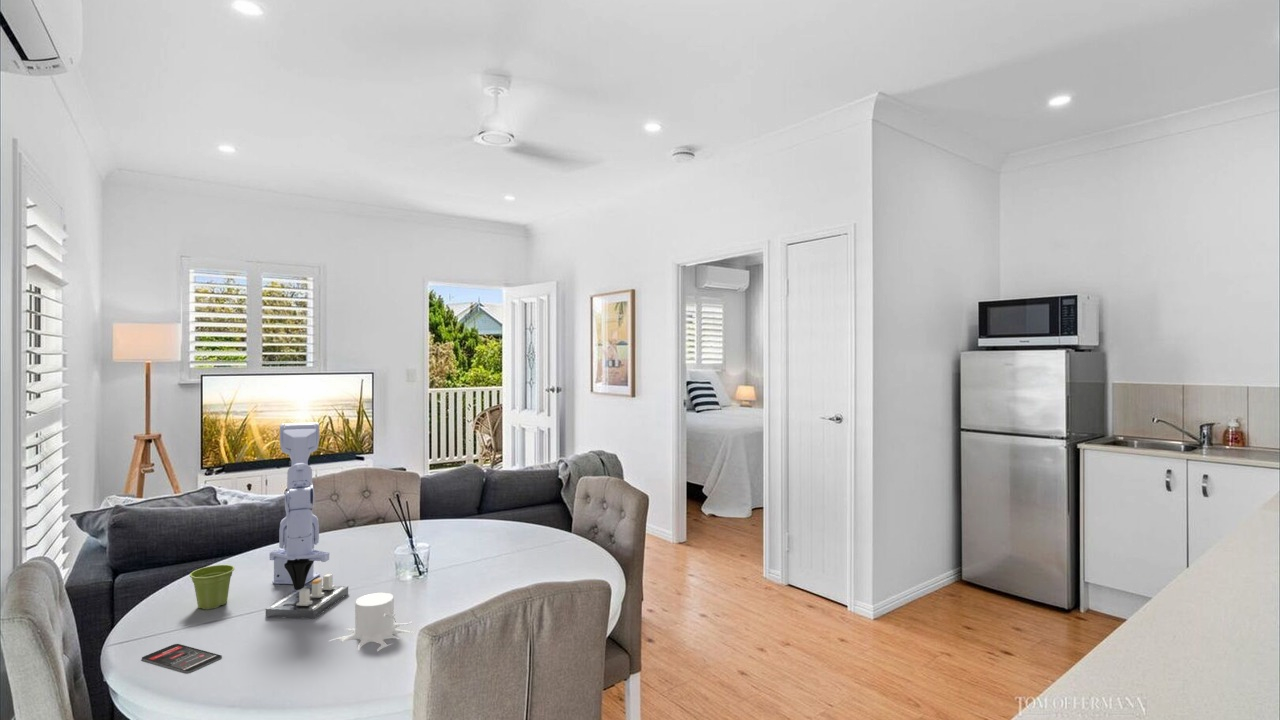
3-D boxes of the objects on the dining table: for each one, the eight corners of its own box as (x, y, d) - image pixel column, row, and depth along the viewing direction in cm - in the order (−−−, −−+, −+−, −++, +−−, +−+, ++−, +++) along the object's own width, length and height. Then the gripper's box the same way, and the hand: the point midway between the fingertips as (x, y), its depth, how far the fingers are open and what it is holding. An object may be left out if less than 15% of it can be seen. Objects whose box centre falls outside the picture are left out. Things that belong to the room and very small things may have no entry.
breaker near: (296, 605, 155) (296, 591, 155) (301, 601, 157) (301, 588, 157) (307, 605, 155) (307, 591, 155) (312, 602, 157) (312, 588, 157)
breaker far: (320, 589, 165) (320, 576, 165) (324, 586, 168) (325, 573, 167) (330, 590, 165) (330, 576, 165) (335, 586, 167) (335, 574, 167)
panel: (265, 617, 154) (265, 608, 154) (304, 592, 170) (304, 584, 170) (313, 618, 153) (313, 610, 153) (348, 593, 169) (348, 586, 169)
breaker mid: (308, 597, 160) (308, 581, 160) (313, 594, 162) (313, 578, 162) (319, 597, 160) (319, 581, 160) (324, 594, 162) (324, 578, 162)
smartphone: (176, 643, 139) (223, 655, 133) (176, 646, 139) (223, 659, 133) (139, 658, 132) (187, 672, 127) (139, 661, 132) (187, 675, 127)
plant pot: (186, 615, 154) (186, 579, 154) (192, 601, 163) (192, 567, 163) (232, 608, 159) (232, 573, 159) (236, 595, 167) (236, 562, 167)
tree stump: (360, 662, 132) (360, 624, 132) (311, 638, 144) (311, 602, 143) (439, 629, 149) (440, 594, 149) (390, 609, 160) (390, 577, 160)
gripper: (261, 538, 158) (261, 593, 158) (318, 540, 157) (318, 595, 157) (279, 530, 165) (279, 583, 165) (333, 532, 164) (333, 585, 164)
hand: (299, 588), depth 161 cm, fingers closed
